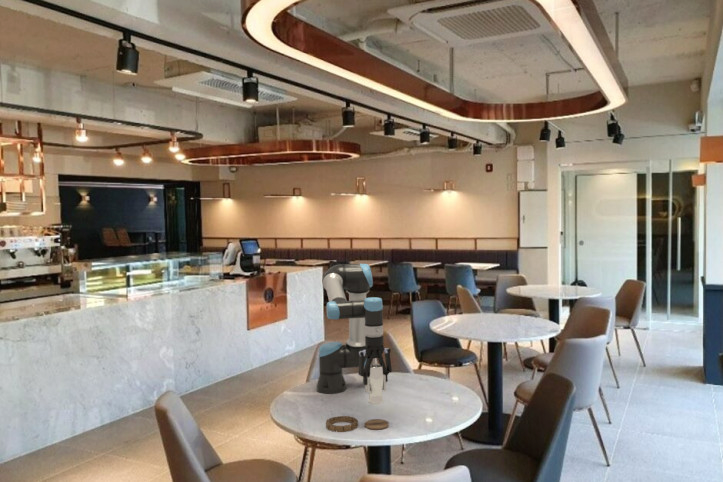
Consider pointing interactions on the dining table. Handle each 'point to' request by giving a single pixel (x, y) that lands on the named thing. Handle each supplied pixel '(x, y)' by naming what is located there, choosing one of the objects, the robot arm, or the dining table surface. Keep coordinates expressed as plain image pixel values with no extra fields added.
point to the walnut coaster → (376, 424)
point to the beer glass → (376, 383)
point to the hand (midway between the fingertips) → (375, 391)
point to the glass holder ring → (342, 419)
